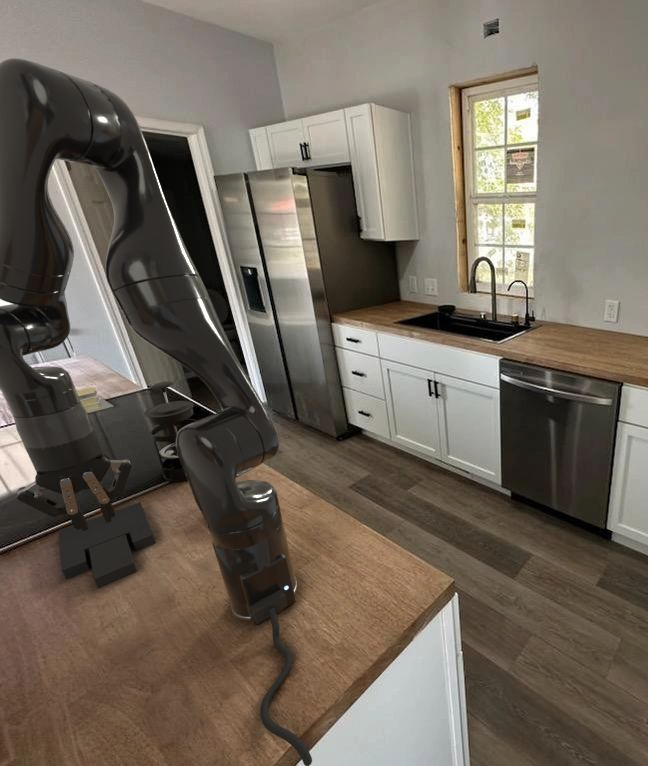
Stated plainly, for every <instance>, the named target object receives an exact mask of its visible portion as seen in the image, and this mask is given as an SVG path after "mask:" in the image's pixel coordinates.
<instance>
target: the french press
mask: <svg viewBox="0 0 648 766" xmlns="http://www.w3.org/2000/svg"><path fill="white" fill-rule="evenodd" d="M174 385H175V382H173V381H161V382H157V383H154V384H152V385H151V386H150V387H149V388H150V389H151V390H160V391H161V393H162V394H163V396H164V399H165V402H164V403H160V404H157V405H154V406H152V407H150V408H148V409H146V410H145V411H144V413H143V416H144V417H145V418H147V419H148V422H149V424H151V425H154V426H155V427H154V428H152V429H151V430H150V433H149V434H150V436H151V439H152V442H153V445H154V448H155V449H154V450H155V452H156V454H157V457H158V460H159V463H160V466H161V469H162V473H163V478H164V480H165V481H166V482H170V483H181V482H186V481H187V482H188V480H187V477H186V475H185V472H184V470H183V468H182V465H181V463H180V460H179V457H178V454H177V450H176V436H177V433H178V432H179V431H178V429H177V426H183V425H189V424H191V423H193V422H196V421H198V419H197V420H196V419H194V418H191V417H192V416H193V415H194V410H193V408H194V406H195V403H194V402H193V401H192V402H191V401H189V400H175V401H169V399H168V396H167V389H168V388H170V387H172V386H174ZM165 429H166V432H167V435H163V436H161V435H156V434H157V433H159V432H161V431H163V430H165ZM157 442H159V443H166V442H167V443H169V442H170V444H168V445H166V446H164V447H163V448H162V449H161V450H159V447H158V445H157ZM162 459H164V460H162ZM180 467H181V468H180Z"/></svg>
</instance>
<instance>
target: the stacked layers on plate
mask: <svg viewBox="0 0 648 766" xmlns="http://www.w3.org/2000/svg"><path fill="white" fill-rule="evenodd" d="M96 389H97V388H96V387H95V386H92V387H91V386H90V387H85V388H81V389H78V390H77V389H76V391H77V394H78V396H79V399H80V401H81V403H82V405H83V407H84V409H85V410H86V412H87V414H90V413H95V412H98V411H101V410H106V409H110V408H114V407H115V406H114V405H113V404H111V403H110V402H109V401H107V400H105V399H104V398H102V399H100V397H99V396H98V391H97V390H96Z"/></svg>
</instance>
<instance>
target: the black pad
mask: <svg viewBox="0 0 648 766" xmlns="http://www.w3.org/2000/svg"><path fill="white" fill-rule="evenodd" d="M89 553H90V557H89V558H90V564H91V570H92V575H93V576H92V577H93V580H94V582H95V584H96V587H97V589H100V588H102V587H105V586H107V585H110V584H111V583H113V582H116V581H118V580H121V579H123V578H125V577H128V576H130V575H132V574H134V573H137V572H138V568H137V566H136V563H135V559H134V556H133V552H132V549H131V546H130V541H129V542H128V540H127V537H126V535H122V536H120V537H117V538H114V539H112V540H109V541H107V542H104V543H101V544H99V545H96V546H93V547H91V548H89Z"/></svg>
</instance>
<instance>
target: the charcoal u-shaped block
mask: <svg viewBox="0 0 648 766" xmlns="http://www.w3.org/2000/svg"><path fill="white" fill-rule="evenodd" d="M114 511H115V517H112V518H111V520H112V521H111V522H108V523H106V521H105V519H104V516H103V514H101V515H98V516H96V517H92V518H90V519H87V520H86V521H87V524H88V530H85V531H82V529H79V530H77V529H75V528H74V526H73V524H72V525H70V526H67V527H63V528H61V529H58V530H57V532H58V543H59V553H60V554H59V555H60V564H61V572H62V574H63V576H64V578H65V580H68V579H71V578H73V577H76V576H79V575H81V574H84V573H86V572H88V571H90V563H89V558H90V553H89V548H91V547H93V546H96V545H99V544H101V543H104V542H107V541H109V540H112V539H114V538H117V537H120V536H122V535H126V537H127V540H128V542H129V543H130V542H132V544H133V547H134V549H135V551H136V552H137V551H140V550H141V549H144V548H147V547H149V546H152V545H154V544H156V543H157V541H156V540H155V536H154V533H153V531H152V528H151V526H150V523H149V521H148V518H147V515H146V513H145V510H144V508H143V505H142V503H141V501H138V502H136V503H133V504H130V505H128V506H124V507H121V508H119V509H116V510H114Z"/></svg>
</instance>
